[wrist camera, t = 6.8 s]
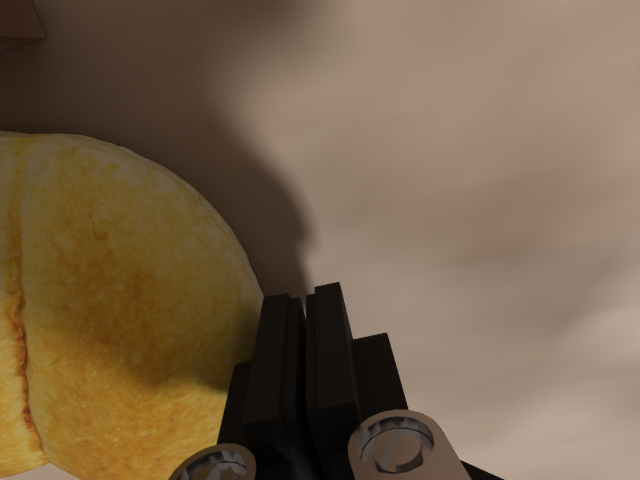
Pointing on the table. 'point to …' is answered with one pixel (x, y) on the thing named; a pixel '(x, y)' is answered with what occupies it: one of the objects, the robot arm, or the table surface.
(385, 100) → the table surface
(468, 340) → the table surface
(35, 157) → the bread roll
